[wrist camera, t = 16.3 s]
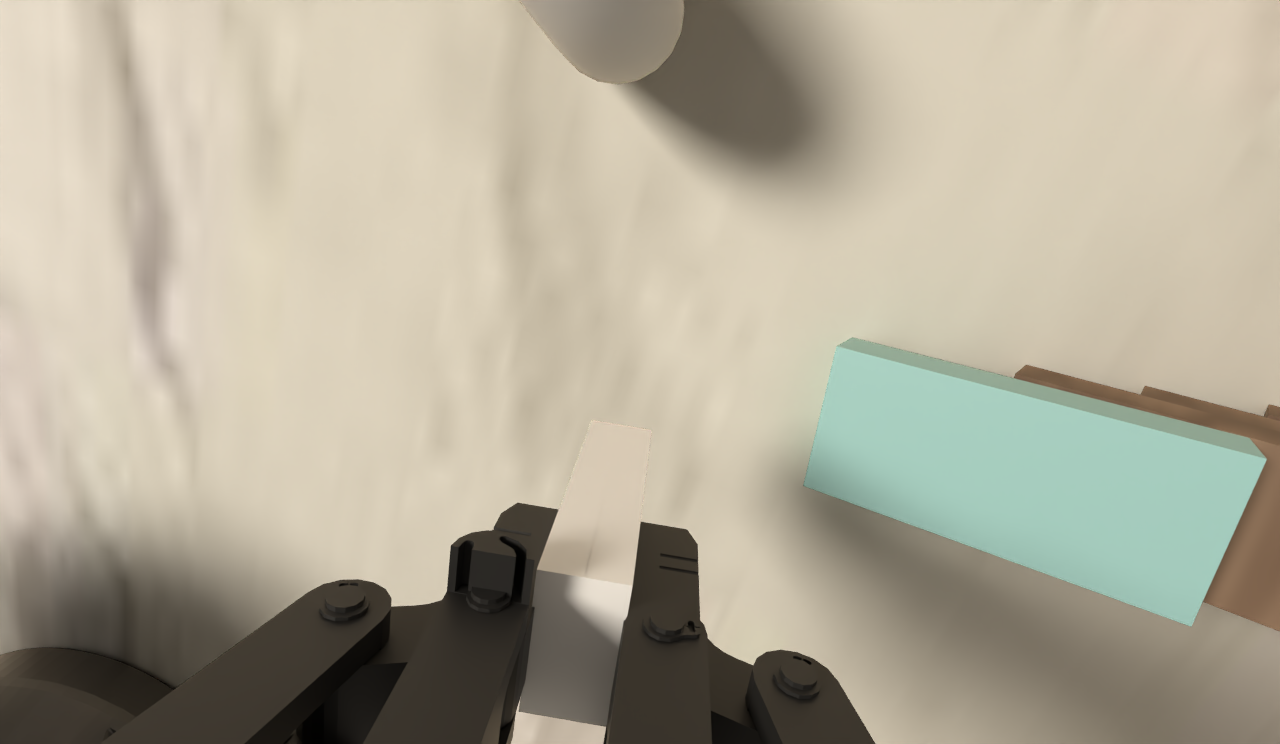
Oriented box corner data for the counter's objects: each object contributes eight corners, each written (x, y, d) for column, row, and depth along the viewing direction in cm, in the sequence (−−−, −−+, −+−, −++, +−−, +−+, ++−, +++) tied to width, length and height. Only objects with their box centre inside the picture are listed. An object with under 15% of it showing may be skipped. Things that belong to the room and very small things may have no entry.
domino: (970, 511, 24) (1421, 685, 18) (1015, 373, 22) (1523, 512, 16) (984, 494, 25) (1402, 650, 19) (1026, 364, 24) (1493, 488, 18)
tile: (803, 485, 24) (1191, 626, 19) (836, 346, 22) (1267, 459, 17) (820, 468, 26) (1181, 593, 21) (852, 337, 24) (1249, 437, 19)
